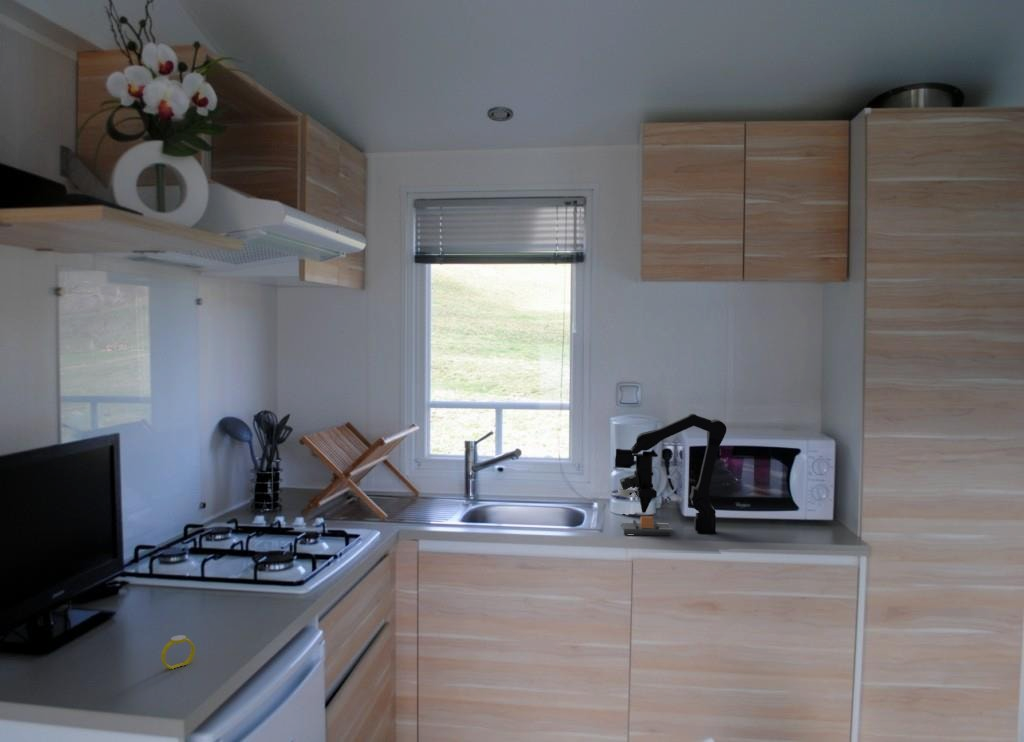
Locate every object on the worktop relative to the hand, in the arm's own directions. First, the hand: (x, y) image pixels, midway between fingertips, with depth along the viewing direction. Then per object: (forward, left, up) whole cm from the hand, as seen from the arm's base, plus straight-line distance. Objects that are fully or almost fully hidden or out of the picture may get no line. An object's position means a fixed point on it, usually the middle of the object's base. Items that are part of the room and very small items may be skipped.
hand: (643, 512), depth 246 cm
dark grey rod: (0, +9, -6) cm, 11 cm away
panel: (0, +4, -6) cm, 7 cm away
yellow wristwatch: (+108, +113, -6) cm, 157 cm away
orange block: (0, +7, -4) cm, 7 cm away
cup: (+3, -23, -6) cm, 24 cm away
